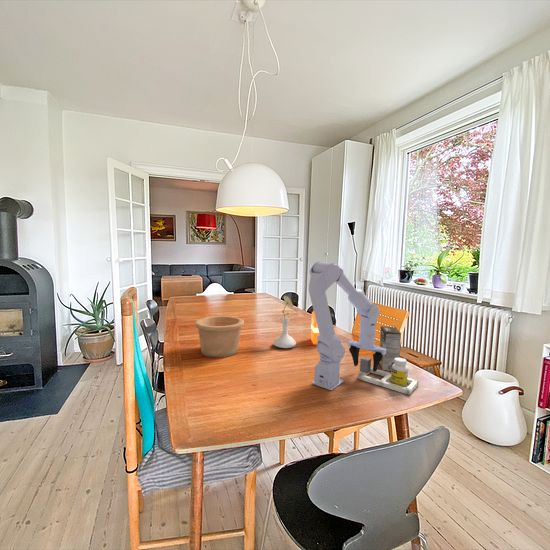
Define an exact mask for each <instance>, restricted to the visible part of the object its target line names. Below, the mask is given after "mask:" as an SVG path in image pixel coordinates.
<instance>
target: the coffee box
mask: <svg viewBox="0 0 550 550" xmlns="http://www.w3.org/2000/svg"><path fill="white" fill-rule="evenodd" d="M379 336H380V337H379V339H380V340H379V347H382V348H385V349H386V354H385V355H383V357H382V358H381V360H380V362H379V365H380V368H381V370H382V371H385V370H386V372H392V365H393V364H394V359H395V358H400V353H401V340H402V333H401V332H400V330H399V329H398V328H397V327H396V326H395V327H394V326H387V325H386V326H384V325H382V326H380V335H379Z"/></svg>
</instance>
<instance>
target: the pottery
mask: <svg viewBox="0 0 550 550" xmlns="http://www.w3.org/2000/svg"><path fill="white" fill-rule="evenodd" d="M194 323H195V324H194V325H195V328H197V329H198V336H199V344H200V352H201V354H202V355H204V356H205V357H208V358H213V357H215V358H214V359H217V357H219V358H218V359H220V357H223V358H227V357H228V356H229V357H230V356H232V357H233V356H234V355H236V354H237V353H238V351H239V344H240V339H241V338H240V337H241V332H242V327H244V324H245V320H243V318H241V317H237V316H232V315H213V316H212V315H211V316H205V317H201V318H199V319H196V321H195V322H194Z"/></svg>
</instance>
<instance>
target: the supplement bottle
mask: <svg viewBox="0 0 550 550" xmlns="http://www.w3.org/2000/svg"><path fill="white" fill-rule="evenodd" d="M408 367H409V366H407V359H406V358H402V357H399V358H395V359H394V364H393V365H392V371H390V373H391V380H390V383H392V384H396V385H399V386H402V387H405V388H407V387H408V383H407V378H409V377H408V375H409V374H408V373H409V368H408Z"/></svg>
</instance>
